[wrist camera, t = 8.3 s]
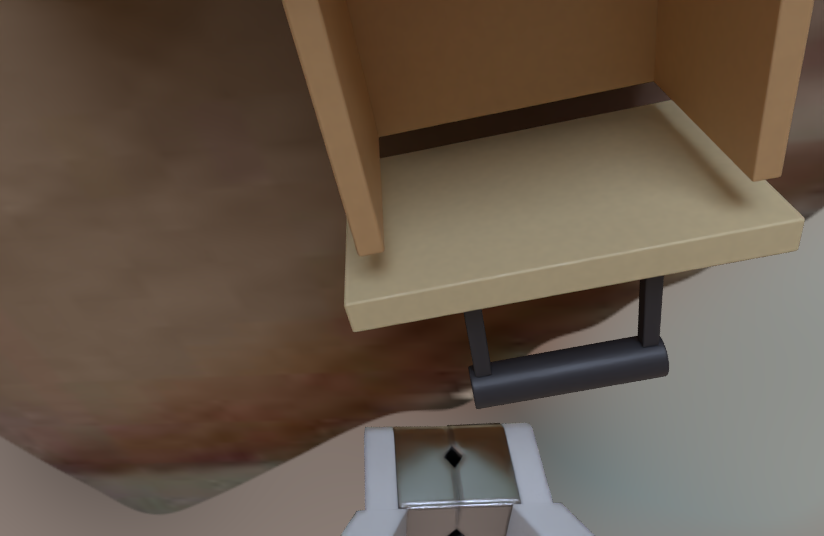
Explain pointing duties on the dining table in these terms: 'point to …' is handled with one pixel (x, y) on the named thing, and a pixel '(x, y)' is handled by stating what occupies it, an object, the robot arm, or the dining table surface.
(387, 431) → the robot arm
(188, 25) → the dining table surface
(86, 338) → the dining table surface
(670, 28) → the drawer
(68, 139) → the dining table surface
